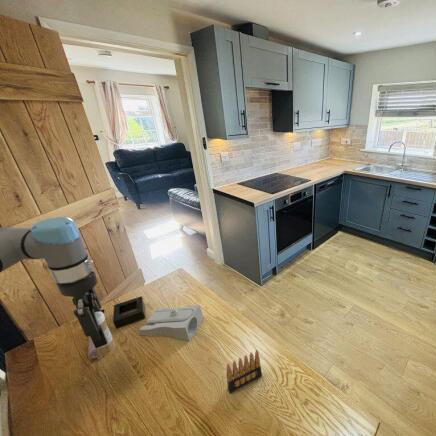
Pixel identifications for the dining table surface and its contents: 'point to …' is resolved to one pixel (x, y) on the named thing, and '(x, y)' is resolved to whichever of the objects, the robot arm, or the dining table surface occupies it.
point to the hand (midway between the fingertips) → (102, 338)
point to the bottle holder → (130, 317)
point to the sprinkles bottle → (110, 344)
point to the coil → (93, 350)
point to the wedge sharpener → (174, 322)
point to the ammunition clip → (241, 378)
